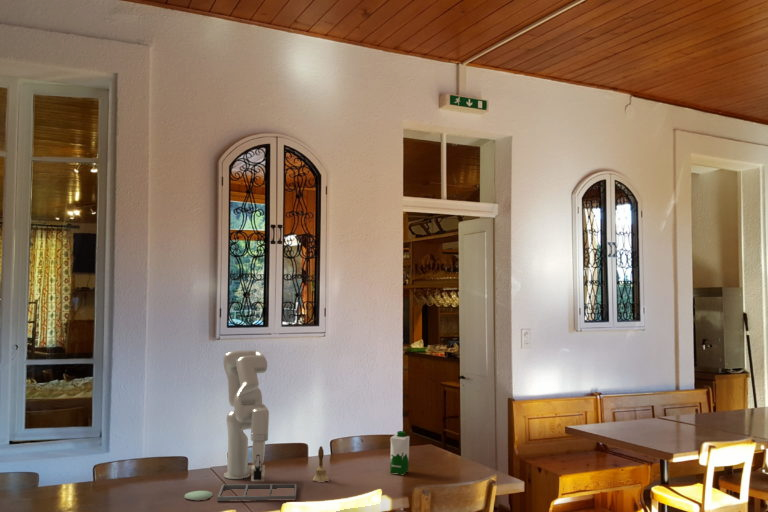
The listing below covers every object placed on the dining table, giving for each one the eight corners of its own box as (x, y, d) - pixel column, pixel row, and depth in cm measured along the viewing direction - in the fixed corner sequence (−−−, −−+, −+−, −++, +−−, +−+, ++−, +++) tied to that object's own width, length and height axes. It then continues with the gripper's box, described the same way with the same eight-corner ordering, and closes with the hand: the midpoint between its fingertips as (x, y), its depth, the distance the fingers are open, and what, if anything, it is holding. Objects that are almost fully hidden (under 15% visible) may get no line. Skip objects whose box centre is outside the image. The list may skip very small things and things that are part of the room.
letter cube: (264, 477, 312) (265, 464, 312) (263, 481, 306) (264, 468, 306) (252, 477, 311) (252, 464, 311) (251, 481, 306) (251, 468, 305)
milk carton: (410, 471, 350) (411, 431, 351) (404, 476, 342) (405, 435, 342) (394, 469, 354) (395, 430, 354) (387, 474, 345) (388, 433, 346)
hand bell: (316, 483, 328) (316, 449, 328) (309, 478, 335) (310, 445, 335) (332, 481, 331) (333, 447, 332) (325, 476, 339) (326, 443, 339)
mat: (204, 490, 313) (205, 489, 313) (217, 497, 304) (217, 495, 304) (179, 495, 305) (179, 494, 305) (192, 503, 296) (192, 501, 296)
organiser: (296, 489, 318) (296, 483, 318) (295, 501, 301) (295, 495, 301) (222, 490, 314) (222, 484, 314) (217, 503, 297) (217, 497, 297)
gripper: (252, 431, 317) (250, 471, 317) (249, 441, 300) (247, 483, 300) (269, 431, 317) (267, 471, 317) (266, 441, 300) (265, 483, 300)
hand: (257, 476), depth 309 cm, fingers closed on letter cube, 5 cm apart
